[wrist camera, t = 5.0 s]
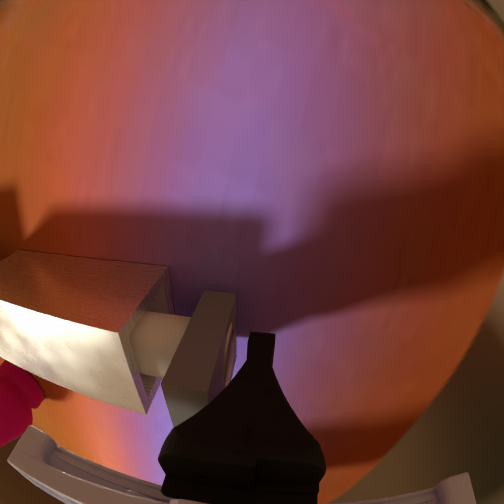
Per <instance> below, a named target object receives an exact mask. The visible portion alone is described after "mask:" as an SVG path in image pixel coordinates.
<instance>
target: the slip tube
mask: <svg viewBox="0 0 504 504" xmlns="http://www.w3.org/2000/svg"><path fill="white" fill-rule="evenodd" d="M236 295H237V293H227V292H217V291H207V290H204V292H203V294H202V296H201V298H200V300H199V302H198V305H197V307H196V309H195V311H194V313H193V315H192V317H186V316H179V315H172V314H165V313H158V312H151V311H145V312H144V314H143V315H142V316H141V318H140V319H139V321H138V322H137V324H136V325H135V327H134V328H133V330H132V331H131V332H130V334H129V335H128V336H129V340H130V343H131V347H132V350H133V354H134V357H135V361H136V364H137V367H138V370H139V373H142V374H146V375H151V376H155V377H160V378H163V380H162V382H161V386H162V390H163V393H164V397H165V400H166V404H167V407H168V410H169V414H170V417H171V420H172V423H173V426H174V427H175V426H177V425H179V424H180V423H182V422H184V421H185V420H187V419H188V418H190V417H191V416H193V415H194V414H196V413H197V412H198V411H200V410H201V409H202V408H204V407H205V406H206V405H207V404H209V403H210V402H211V401H212V400H213V399H214V398H215V397H216V396H217V395H218V394H219V393H220V392H221V391H222V390H223V389H224V388H225V387H226V386H227V385H228V384H229V383H230V382H231V379H232V374H233V370H234V365H235V361H236Z"/></svg>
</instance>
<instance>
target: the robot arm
mask: <svg viewBox="0 0 504 504" xmlns="http://www.w3.org/2000/svg"><path fill="white" fill-rule="evenodd" d="M274 347H275V334H271V333H260V332H250V335H249V339H248V346H247V360H246V362H245V363H244V365H243V366H242V367H241V369H240V370H239V372H238V373H237V374H236V376H235V377H234V378H233V379H232V381H231V382H230V383H229V384H228V385H227V386H226V387H225V388H224V389H223V390H222V391H221V392H220V393H219V394H218V395H217V396H216V397H215V398H214V399H213V400H212V401H211V402H210V403H209V404H207V405H206V406H205V407H204V408H202V409H201V410H200V411H198V412H197V413H196V414H194V415H193V416H191V417H190V418H188V419H187V420H185V421H184V422H182V423H180V424H179V425H177V426H175V427H174V428H173V429H172V430H171V432H170V433H169V435H168V436H167V438H166V440H165V442H164V444H163V446H162V448H161V451H160V454H159V457H158V461H159V464H160V465H161V467H162V469H163V471H164V473H165V474H166V476H165V479H164V482H163V485H162V486H161V485H157V484H154V483H150V482H147V481H144V480H141V479H138V478H135V477H132V476H129V475H126V474H123V473H120V472H117V471H115V470H112V469H109V468H107V467H104V466H102V465H99V464H97V463H95V462H92V461H90V460H88V459H85V458H83V457H81V456H79V455H77V454H75V453H72V452H70V451H68V450H66V449H64V448H62V447H60V446H58V445H57V444H56V442H55V441H54V440H53V439H52V438H51V437H50V436H49V435H48V434H46V433H45V432H43V431H41V430H39V429H38V428H36V427H34V426H32V425H29V426H28V428H27V429H26V431H25V432H24V434H23V435H22V437H21V438H20V440H19V442H18V443H17V445H16V447H15V448H14V450H13V451H12V453H11V454H10V456H9V458H8V462H9V463H10V464H11V465H12V466H13V467H14V468H15V469H17V470H18V471H19V472H20V473H21V474H22V475H23V476H25V477H26V478H27V479H28V480H30V481H31V482H32V483H33V484H35V485H36V486H37V487H39V488H41V489H42V490H44V491H45V492H47V493H49V494H50V495H52V496H54V497H55V498H57V499H59V500H60V501H62V502H64V503H65V504H317V493H319V482H320V481H321V479H322V478H323V476H324V475H325V472H326V464H325V459H324V456H323V453H322V450H321V447H320V445H319V443H318V442H317V441H316V440H315V439H314V437H313V436H312V435H311V434H310V433H309V432H308V430H307V429H306V428H305V427H304V425H303V424H302V423H301V421H300V420H299V419H298V417H297V416H296V414H295V413H294V411H293V410H292V408H291V406H290V405H289V403H288V401H287V399H286V398H285V396H284V394H283V392H282V390H281V388H280V385H279V383H278V381H277V378H276V376H275V373H274V370H273V367H272V366H273V357H274ZM337 504H476V502H475V497H474V493H473V489H472V485H471V482H470V478H469V474H468V472H465V473H462V474H459V475H456V476H453V477H450V478H447V479H445V480H443V481H441V482H440V483H438V484H437V485H436V486H435V487H433V488H430V489H426V490H422V491H418V492H413V493H409V494H404V495H399V496H394V497H388V498H382V499H376V500H368V501H359V502H350V503H337Z"/></svg>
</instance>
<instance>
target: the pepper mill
mask: <svg viewBox="0 0 504 504" xmlns="http://www.w3.org/2000/svg"><path fill="white" fill-rule="evenodd" d="M43 400H44V393H43V391H42V389H41V387H40V386H39V384H38V383H37V382H36V380H35V379H34V378H33V377H32V376H31V375H30V374H29V373H28V372H27V371H26V370H25V369H23V368H21V367H19V366H17V365H15V364H13V363H11V362H9V361H7V360H5V361H4V362H3V363H2V364H1V366H0V448H1V447H2V446H3V445H4V444H6V443H8V442H10V441H12V440H14V439H16V438H18V437H20V436H21V435H23V434H24V432H25V431H26V429H27V428H28V426H29V425H32V420H33V418H32V410H31V408H34V409H35V408H38V407H39V405H40V404H41V402H42V401H43Z"/></svg>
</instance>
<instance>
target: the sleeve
mask: <svg viewBox="0 0 504 504" xmlns="http://www.w3.org/2000/svg"><path fill="white" fill-rule="evenodd" d="M145 311H151V312H158V313H165V314H172V315H174V309H173V302H172V294H171V285H170V276H169V267H168V266H161V265H151V264H141V263H131V262H121V261H112V260H102V259H93V258H84V257H75V256H66V255H58V254H49V253H41V252H33V251H25V250H17V251H15V252H14V253H12V254H11V255H9V256H7V257H6V258H4V259H3V260H1V261H0V357H2V358H4V359H5V360H7V361H9V362H11V363H13V364H15V365H17V366H19V367H21V368H23V369H25V370H27V371H29V372H31V373H33V374H35V375H37V376H39V377H41V378H44V379H46V380H48V381H50V382H53V383H55V384H57V385H60V386H62V387H65V388H67V389H69V390H72V391H75V392H77V393H80V394H82V395H85V396H88V397H91V398H94V399H96V400H99V401H102V402H105V403H108V404H111V405H115V406H118V407H121V408H124V409H128V410H131V411H135V412H138V413H142V414H147V412H148V410H149V407H150V405H151V403H152V401H153V398H154V396H155V394H156V392H157V389H158V387H159V385H160V383H161V381H162V378H160V377H155V376H151V375H146V374H142V373H139V370H138V367H137V364H136V361H135V357H134V354H133V350H132V347H131V343H130V340H129V336H128V335H129V334H130V332H131V331H132V330H133V328H134V327H135V325H136V324H137V322H138V321H139V319H140V318H141V316H142V315H143V314H144V312H145Z"/></svg>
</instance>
